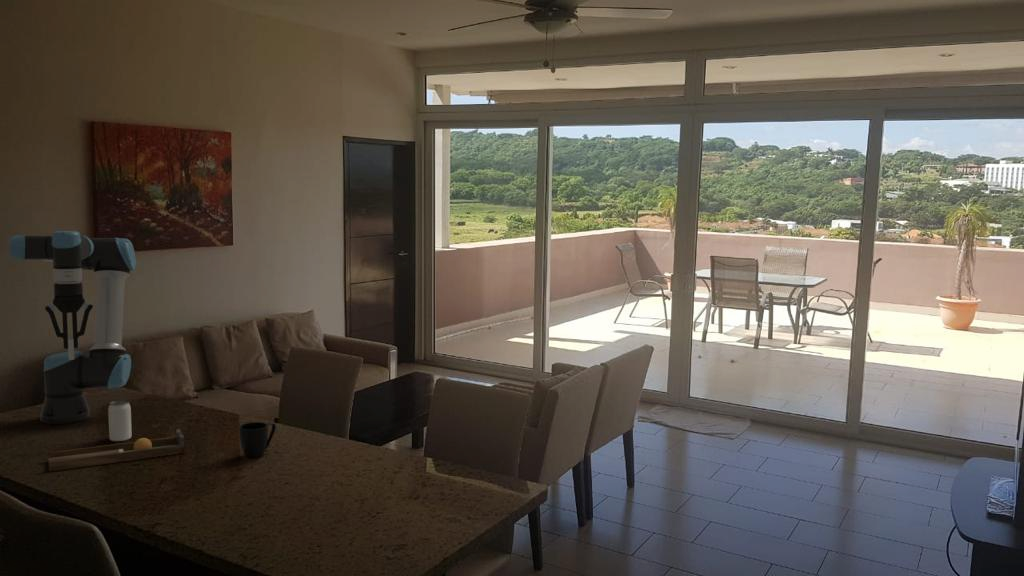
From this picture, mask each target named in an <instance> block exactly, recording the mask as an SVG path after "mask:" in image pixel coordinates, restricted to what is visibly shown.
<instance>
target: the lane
mask: <svg viewBox="0 0 1024 576" xmlns="http://www.w3.org/2000/svg"><path fill="white" fill-rule="evenodd" d="M175 435H176V436H171V437H163V438H155V439H154V438H153V439H149V440H150V441H151V443H152V448H151V449H144V450H136V451H135V450H134V443H135V442H136V441H131V442H123V443H122V442H121V443H115V444H104V445H97V446H91V447H90V446H89V447H83V448H82V447H81V448H75V449H65V450H58V451H57V450H56V451H50V452H48V472H53V471H54V472H55V471H62V470H69V469H77V468H84V467H85V468H87V467H93V466H98V465H99V466H100V465H107V464H115V463H122V462H130V461H137V460H144V459H151V458H152V457H153V458H159V457H158V456H160V457H166V455H168V456H174V455H173V454H175V455H180V454H179V453H183V454H185V436H184V434H183V433H182V431H181V429H180V428H176V429H175ZM164 455H165V456H164Z"/></svg>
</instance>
